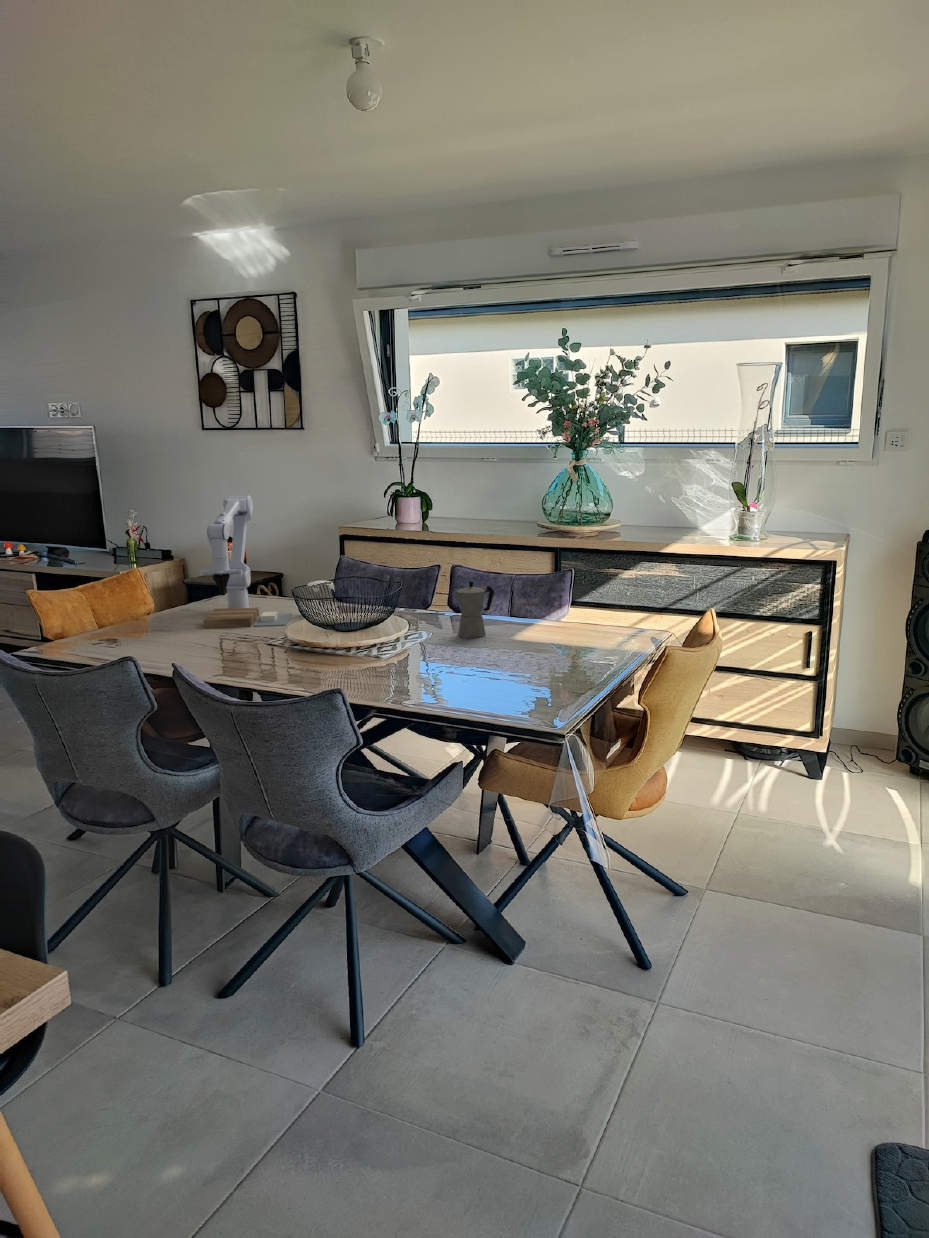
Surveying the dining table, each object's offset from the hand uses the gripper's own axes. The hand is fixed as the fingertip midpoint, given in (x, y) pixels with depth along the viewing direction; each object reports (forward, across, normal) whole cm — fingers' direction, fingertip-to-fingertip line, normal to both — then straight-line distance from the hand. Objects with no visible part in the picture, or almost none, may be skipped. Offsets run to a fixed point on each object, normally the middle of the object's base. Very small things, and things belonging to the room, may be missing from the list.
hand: (223, 595), depth 314 cm
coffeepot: (+10, +88, -32) cm, 94 cm away
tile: (+7, +16, -2) cm, 18 cm away
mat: (+9, +18, -2) cm, 20 cm away
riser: (+9, +3, -2) cm, 10 cm away
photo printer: (+10, +34, +7) cm, 36 cm away
